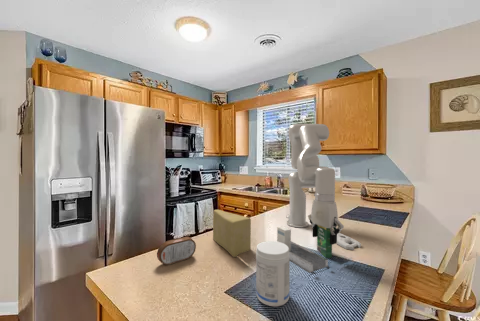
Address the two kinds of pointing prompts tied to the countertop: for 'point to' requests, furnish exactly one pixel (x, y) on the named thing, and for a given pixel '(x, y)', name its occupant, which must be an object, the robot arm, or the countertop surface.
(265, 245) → the supplement tub
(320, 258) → the rail
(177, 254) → the tin
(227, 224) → the cheese
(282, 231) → the small white carton
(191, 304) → the countertop surface
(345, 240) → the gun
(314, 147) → the robot arm
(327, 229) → the coffee box
